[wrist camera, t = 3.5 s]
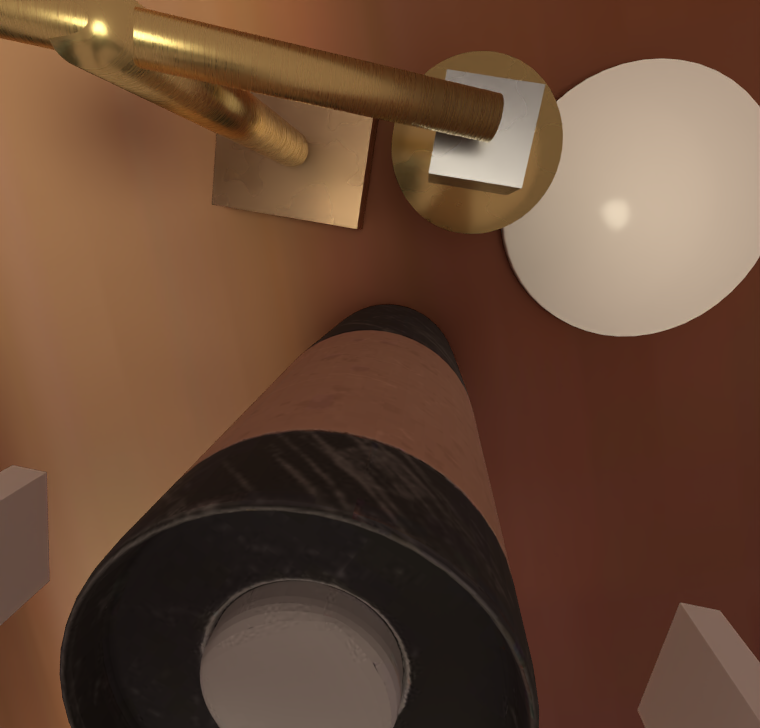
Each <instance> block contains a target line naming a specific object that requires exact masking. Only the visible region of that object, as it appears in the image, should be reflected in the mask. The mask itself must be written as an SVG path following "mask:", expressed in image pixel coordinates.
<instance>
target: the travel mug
mask: <svg viewBox="0 0 760 728" xmlns="http://www.w3.org/2000/svg"><path fill="white" fill-rule="evenodd" d="M60 680H61V689H62V698H63V702H64V705H65V709H66V713H67V717H68V720H69V723H70V726H71V728H539V705H538V697H537V690H536V682H535V676H534V669H533V664H532V660H531V655H530V651H529V647H528V643H527V638H526V634H525V630H524V626H523V621H522V617H521V613H520V609H519V604H518V600H517V596H516V592H515V587H514V583H513V579H512V576H511V571H510V566H509V562H508V558H507V554H506V549H505V545H504V541H503V537H502V532H501V528H500V524H499V520H498V515H497V511H496V507H495V503H494V498H493V494H492V490H491V486H490V481H489V477H488V473H487V469H486V464H485V460H484V456H483V451H482V447H481V443H480V439H479V434H478V430H477V426H476V422H475V417H474V413H473V409H472V406H471V403H470V399H469V396H468V393H467V390H466V388H465V385H464V382H463V379H462V377H461V374H460V371H459V369H458V366H457V363H456V360H455V358H454V355H453V352H452V350H451V348H450V346H449V343H448V341H447V339H446V338H445V336H444V335H443V333H442V332H441V331H440V329H439V328H438V327H437V326H436V325H435V324H434V323H433V322H432V321H431V320H430V319H428V318H427V317H426V316H424V315H423V314H421V313H419V312H417V311H415V310H412V309H410V308H407V307H403V306H398V305H377V306H371V307H368V308H365V309H362V310H360V311H358V312H356V313H354V314H352V315H351V316H349V317H347V318H346V319H345V320H343V321H342V322H341V323H339V324H338V325H337V326H336V327H334V328H333V329H332V330H331V331H329V332H328V333H327V334H326V335H325V336H323V337H322V338H321V339H320V340H318V341H317V342H316V343H315V344H313V345H312V346H311V347H310V348H309V349H307V350H306V351H305V352H304V353H303V354H301V355H300V356H299V357H298V358H297V359H296V360H295V361H294V362H293V363H292V364H291V365H290V366H289V367H288V368H287V369H286V370H285V371H284V372H283V373H282V374H281V375H280V376H279V377H278V378H277V379H276V380H275V381H274V382H273V383H272V385H271V386H270V387H269V388H268V389H267V390H266V391H265V392H264V393H263V394H262V395H261V396H260V397H259V398H258V399H257V400H256V401H255V402H254V403H253V404H252V405H251V406H250V407H249V408H248V409H247V410H246V411H245V412H244V413H243V414H242V415H241V416H240V417H239V418H238V419H237V420H236V421H235V422H234V423H233V425H232V426H231V427H230V428H229V429H228V430H227V431H226V432H225V433H224V434H223V435H222V436H221V437H220V438H219V439H218V440H217V441H216V442H215V443H214V444H213V445H212V446H211V447H210V448H209V449H208V450H207V451H206V452H205V453H204V454H203V455H202V456H201V457H200V458H199V459H198V460H197V461H196V462H195V463H194V464H193V466H192V467H191V468H190V469H189V470H188V471H187V472H186V473H185V474H184V475H183V476H182V477H181V478H180V479H179V480H178V481H177V482H176V483H175V484H174V485H173V486H172V487H171V488H170V489H169V490H168V491H167V492H166V493H165V494H164V495H163V496H162V497H161V498H160V499H159V500H158V501H157V502H156V503H155V504H154V505H153V506H152V507H151V508H150V510H149V511H148V512H147V513H146V514H145V515H144V516H143V517H142V518H141V519H140V520H139V521H138V522H137V523H136V524H135V525H134V526H133V527H132V528H131V529H130V530H129V531H128V532H127V533H126V534H125V535H124V536H123V537H122V538H121V539H120V540H119V542H118V543H117V544H116V545H115V546H114V547H113V548H112V550H111V551H110V552H109V553H108V554H107V555H106V556H105V558H104V559H103V560H102V561H101V562H100V563H99V565H98V566H97V567H96V568H95V569H94V571H93V572H92V574H91V575H90V577H89V579H88V580H87V582H86V584H85V585H84V587H83V588H82V590H81V592H80V593H79V595H78V597H77V598H76V601H75V603H74V606H73V608H72V611H71V613H70V616H69V618H68V621H67V624H66V627H65V632H64V637H63V642H62V646H61V656H60Z"/></svg>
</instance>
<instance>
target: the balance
mask: <svg viewBox="0 0 760 728" xmlns="http://www.w3.org/2000/svg"><path fill="white" fill-rule="evenodd" d="M0 38H2V39H7V40H11V41H16V42H21V43H25V44H30V45H35V46H39V47H44V48H49V49H53V50H56V51H57V52H58V54H59V55H60V56H61V57H63V58H64V59H65V60H66V61H68V62H69V63H71V64H73V65H75V66H77V67H79V68H81V69H83V70H85V71H87V72H89V73H91V74H94V75H96V76H98V77H100V78H102V79H104V80H106V81H108V82H110V83H112V84H115V85H117V86H119V87H121V88H123V89H125V90H127V91H129V92H131V93H133V94H135V95H138V96H140V97H142V98H144V99H146V100H148V101H150V102H152V103H154V104H156V105H158V106H161V107H163V108H165V109H167V110H169V111H171V112H173V113H175V114H177V115H179V116H182V117H184V118H186V119H188V120H190V121H192V122H194V123H196V124H198V125H200V126H202V127H205V128H207V129H209V130H211V131H213V132H215V133H217V134H216V149H215V164H214V179H213V194H212V205H218V206H224V207H230V208H236V209H242V210H248V211H254V212H260V213H266V214H272V215H278V216H283V217H289V218H295V219H301V220H307V221H313V222H319V223H325V224H331V225H337V226H343V227H349V228H354V229H362V227H363V221H364V214H365V207H366V200H367V193H368V187H369V180H370V173H371V166H372V159H373V152H374V146H375V139H376V132H377V125H378V119H380V120H385V121H390V122H394V123H395V125H394V129H393V135H392V161H393V168H394V171H395V175H396V179H397V181H398V184H399V186H400V188H401V190H402V192H403V194H404V195H405V197H406V199H407V200H408V202H409V203H410V204H411V206H412V207H413V208H414V209H415V210H416V211H417V212H418V213H419V214H420V215H421V216H422V217H423V218H425V219H426V220H427V221H429V222H430V223H432V224H434V225H436V226H438V227H440V228H443V229H445V230H448V231H452V232H456V233H465V234H479V233H486V232H491V231H494V230H498V229H501V228H503V227H505V226H508V225H510V224H512V223H514V222H515V221H517V220H518V219H520V218H522V217H523V216H524V215H525V214H527V213H528V212H529V211H530V210H531V209H532V208H533V207H534V206H535V205H536V204H537V203H538V202H539V201H540V199H541V198H542V197H543V196H544V194H545V193H546V191H547V190H548V188H549V186H550V185H551V183H552V181H553V179H554V176H555V174H556V172H557V169H558V165H559V162H560V158H561V153H562V145H563V128H562V120H561V115H560V111H559V108H558V105H557V102H556V100H555V98H554V96H553V94H552V92H551V90H550V88H549V87H548V86H547V84H546V83H545V81H544V80H543V79H542V78H541V77H540V76H539V75H538V74H537V72H536V71H534V70H533V69H532V68H531V67H529V66H528V65H527V64H525V63H523V62H522V61H520V60H518V59H516V58H514V57H511V56H509V55H506V54H502V53H498V52H490V51H475V52H468V53H463V54H459V55H456V56H454V57H451V58H448V59H446V60H445V61H443V62H441V63H439V64H437V65H436V66H434V67H433V68H432V69H430V70H429V71H428V72H426V73H425V74H424V75H422V74H418V73H414V72H410V71H405V70H401V69H397V68H393V67H389V66H384V65H380V64H376V63H372V62H368V61H363V60H359V59H355V58H351V57H347V56H342V55H338V54H334V53H330V52H325V51H321V50H317V49H313V48H309V47H304V46H300V45H296V44H292V43H288V42H283V41H279V40H275V39H271V38H267V37H262V36H258V35H254V34H250V33H246V32H241V31H237V30H233V29H229V28H225V27H220V26H216V25H212V24H208V23H204V22H199V21H195V20H191V19H187V18H183V17H178V16H174V15H170V14H166V13H161V12H157V11H153V10H149V9H145V8H144V7H143V6H142V5H140V4H139V3H138V2H137V1H135V0H0Z"/></svg>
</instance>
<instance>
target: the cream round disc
mask: <svg viewBox="0 0 760 728" xmlns="http://www.w3.org/2000/svg"><path fill="white" fill-rule="evenodd" d="M557 105H558V108H559V111H560V115H561V120H562V128H563V145H562V153H561V158H560V162H559V165H558V169H557V172H556V174H555V176H554V179H553V181H552V183H551V185H550V186H549V188H548V190H547V191H546V193H545V194H544V196H543V197H542V198H541V199H540V201H539V202H538V203H537V204H536V205H535V206H534V207H533V208H532V209H531V210H530V211H529V212H528V213H527V214H525V215H524V216H523V217H522V218H520V219H518V220H517V221H515V222H514V223H512V224H510V225H508V226H505V227H503V228H501V233H502V240H503V244H504V249H505V253H506V256H507V258H508V261H509V263H510V266H511V268H512V270H513V272H514V274H515V276H516V277H517V279H518V281H519V282H520V284H521V285H522V286H523V288H524V289H525V290H526V292H527V293H528V294H529V295H530V296H531V297H532V298H533V299H534V300H535V301H536V302H537V303H538V304H539V305H540V306H542V307H543V308H544V309H546V310H547V311H548V312H550V313H551V314H553V315H554V316H556V317H557V318H559V319H561V320H563V321H565V322H566V323H568V324H570V325H572V326H575V327H577V328H580V329H583V330H585V331H589V332H593V333H597V334H601V335H610V336H639V335H646V334H653V333H656V332H660V331H664V330H668V329H671V328H673V327H676V326H679V325H681V324H684V323H686V322H688V321H690V320H692V319H694V318H696V317H698V316H699V315H701V314H703V313H704V312H706V311H707V310H709V309H710V308H712V307H713V306H715V305H716V304H718V303H719V302H720V301H721V300H722V299H723V298H725V297H726V296H727V295H728V294H729V293H730V292H732V290H733V289H734V288H735V287H736V286H737V285H738V284H739V283H740V282H741V281H742V280H743V279H744V278H745V276H746V275H747V274H748V272H749V271H750V270H751V268H752V267H753V266H754V264H755V263H756V261H757V260H758V258H759V256H760V107H759V105H758V104H757V103H756V102H755V101H754V100H753V99H752V97H751V96H750V95H749V94H748V93H747V92H746V91H745V90H744V89H743V88H741V87H740V86H739V85H738V84H737V83H735V82H734V81H733V80H731V79H730V78H728V77H726V76H725V75H723V74H721V73H720V72H718V71H716V70H713V69H711V68H708V67H706V66H703V65H701V64H697V63H693V62H688V61H684V60H675V59H647V60H639V61H635V62H630V63H625V64H621V65H618V66H616V67H613V68H610V69H607V70H604V71H602V72H600V73H598V74H596V75H594V76H592V77H590V78H588V79H586V80H585V81H583V82H582V83H580V84H579V85H577V86H576V87H574V88H572V89H571V90H570V91H568V92H567V93H566V94H565V95H564V96H562V97H561V98H560V99H559V100H558V101H557Z"/></svg>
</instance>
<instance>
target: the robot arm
mask: <svg viewBox="0 0 760 728" xmlns="http://www.w3.org/2000/svg"><path fill="white" fill-rule="evenodd" d="M49 581H50V580H49V541H48V503H47V472H43V471H39V470H34V469H29V468H24V467H19V466H14V465H12V466H10V467H8V468H6V469H5V470H3V471H1V472H0V625H1V624H2V623H4V622H5V621H6V620H7V619H8V618H9V617H10V616H11V615H12V614H14V613H15V612H16V611H17V610H18V609H19V608H20V607H21V606H22V605H23V604H25V603H26V602H27V601H28V600H29V599H30V598H31V597H32V596H33V595H34V594H36V593H37V592H38V591H39V590H40V589H41V588H42V587H43V586H44V585H46V584H47V583H48V582H49ZM638 712H639V714H640V717H641V719H642V721H643V724H644V726H645V728H760V662H759V661H758V660H757V659H756V657H755V656H754V655H753V653H752V652H751V651H750V649H749V648H748V647H747V645H746V644H745V643H744V641H743V640H742V639H741V638H740V636H739V635H738V634H737V632H736V631H735V630H734V628H733V627H732V626H731V624H730V623H729V622H728V620H727V619H726V618H725V617H724V615H723V614H722V613H721V611H719V610H714V609H709V608H704V607H699V606H695V605H690V604H685V603H680V604H679V606H678V609H677V612H676V614H675V617H674V619H673V622H672V624H671V627H670V629H669V632H668V634H667V637H666V639H665V642H664V644H663V647H662V649H661V652H660V654H659V657H658V659H657V662H656V664H655V667H654V670H653V672H652V675H651V677H650V680H649V682H648V685H647V687H646V690H645V692H644V695H643V697H642V700H641V702H640V705H639V707H638Z"/></svg>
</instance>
